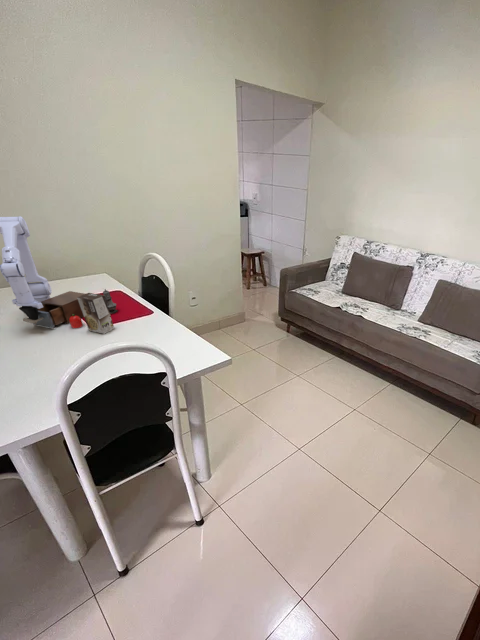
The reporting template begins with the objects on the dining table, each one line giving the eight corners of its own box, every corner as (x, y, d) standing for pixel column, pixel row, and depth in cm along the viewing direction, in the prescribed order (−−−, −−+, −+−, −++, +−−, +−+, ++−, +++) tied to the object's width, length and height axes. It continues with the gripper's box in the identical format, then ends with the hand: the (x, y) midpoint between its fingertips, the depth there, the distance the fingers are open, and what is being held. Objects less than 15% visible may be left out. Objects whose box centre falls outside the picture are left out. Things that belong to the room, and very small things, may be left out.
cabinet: (69, 323, 153) (61, 305, 148) (48, 319, 156) (40, 301, 151) (95, 311, 166) (89, 294, 161) (75, 307, 168) (69, 291, 163)
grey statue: (113, 314, 163) (106, 291, 157) (102, 313, 164) (95, 290, 157) (120, 310, 168) (114, 287, 161) (110, 308, 169) (103, 286, 162)
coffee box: (115, 328, 150) (105, 295, 142) (103, 334, 145) (92, 299, 136) (99, 325, 153) (88, 292, 144) (88, 330, 147) (76, 296, 139)
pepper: (69, 328, 149) (64, 316, 146) (74, 324, 153) (70, 312, 150) (80, 328, 149) (75, 316, 146) (85, 324, 153) (80, 312, 150)
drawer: (42, 333, 142) (35, 317, 138) (22, 328, 145) (15, 313, 141) (79, 316, 158) (74, 301, 154) (61, 312, 161) (55, 298, 157)
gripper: (-1, 292, 135) (13, 322, 142) (26, 297, 132) (39, 327, 139) (16, 287, 141) (29, 316, 148) (42, 291, 138) (54, 320, 145)
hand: (35, 321), depth 144 cm, fingers closed, pressing on drawer
